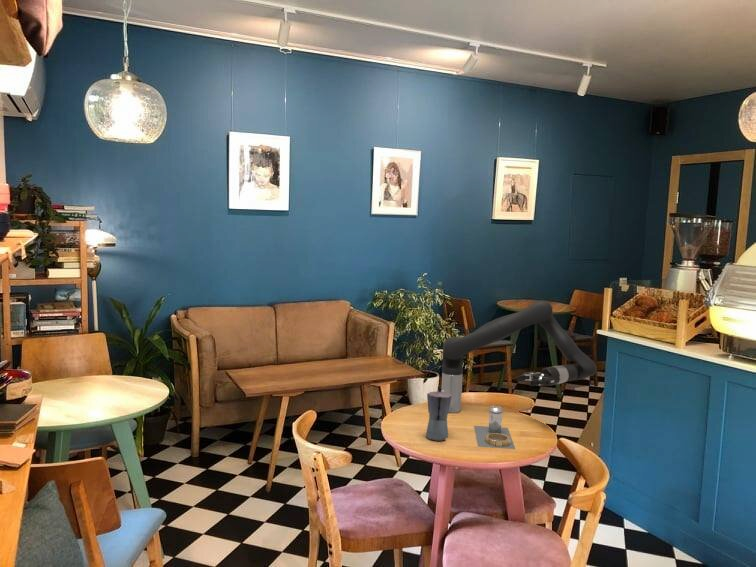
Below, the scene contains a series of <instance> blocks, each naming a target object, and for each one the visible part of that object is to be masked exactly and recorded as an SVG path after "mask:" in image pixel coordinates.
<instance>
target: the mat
mask: <svg viewBox="0 0 756 567" xmlns="http://www.w3.org/2000/svg"><path fill="white" fill-rule="evenodd" d="M473 429H474V433H475V439H476V444H477V447H478V448H492V449H503V450H504V449H505V450H506V449H507V450H508V449H509V450H516V446H515V444H514V440H513V438H512V436H511V432H510V430H509V427H503V426H501V434H505V435H507V436H509V437H510V438H511V444H510V445H509V446H506V447H496V446H492V445H489V444H487V443H486V442H485V435H487V434H489V433H490V432H489V431H488V429H489V426H486V425H485V426H483V425H473ZM493 440H499V441H503V440H500V439H493Z"/></svg>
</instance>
